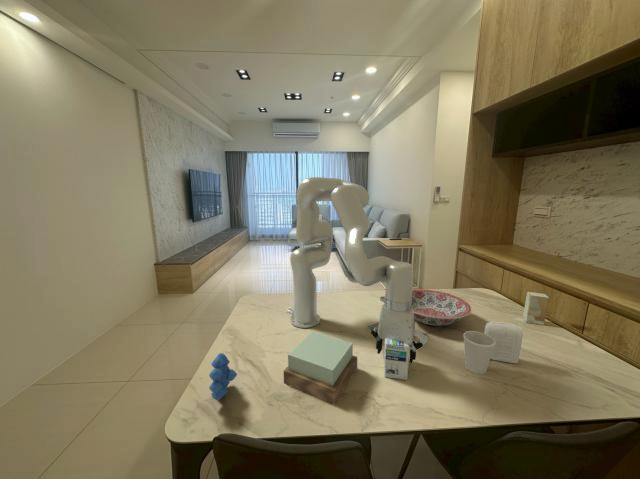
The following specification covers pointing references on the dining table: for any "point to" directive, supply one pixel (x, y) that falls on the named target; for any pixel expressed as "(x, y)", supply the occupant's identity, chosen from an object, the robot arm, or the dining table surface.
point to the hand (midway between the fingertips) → (395, 355)
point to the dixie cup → (477, 351)
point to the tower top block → (321, 357)
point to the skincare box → (535, 308)
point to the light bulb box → (396, 359)
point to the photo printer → (505, 341)
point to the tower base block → (318, 387)
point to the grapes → (221, 376)
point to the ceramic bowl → (438, 307)
